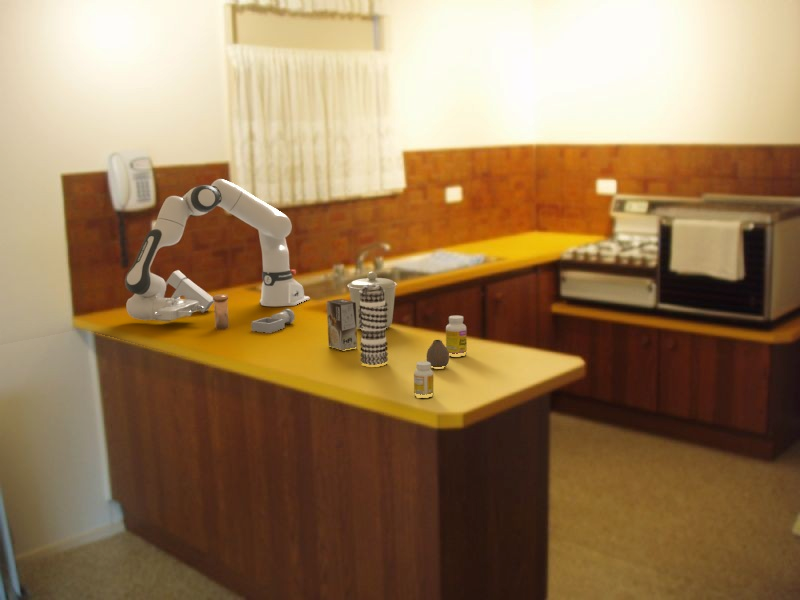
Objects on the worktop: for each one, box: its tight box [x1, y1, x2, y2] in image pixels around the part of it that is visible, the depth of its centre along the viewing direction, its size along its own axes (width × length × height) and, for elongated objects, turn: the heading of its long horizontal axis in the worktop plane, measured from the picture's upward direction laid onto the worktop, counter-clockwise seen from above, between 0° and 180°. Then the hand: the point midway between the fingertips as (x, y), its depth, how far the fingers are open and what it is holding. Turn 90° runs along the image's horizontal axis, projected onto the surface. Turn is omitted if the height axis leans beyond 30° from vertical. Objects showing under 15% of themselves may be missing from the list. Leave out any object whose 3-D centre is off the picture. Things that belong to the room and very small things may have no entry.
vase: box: [426, 339, 450, 367], centre depth 288 cm, size 7×7×9 cm
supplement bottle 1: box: [413, 360, 434, 395], centre depth 258 cm, size 5×5×10 cm
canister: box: [347, 271, 398, 330], centre depth 343 cm, size 18×18×21 cm
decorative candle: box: [358, 285, 389, 365], centre depth 292 cm, size 9×9×25 cm
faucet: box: [165, 269, 214, 313], centre depth 383 cm, size 6×16×20 cm
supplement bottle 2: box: [445, 315, 468, 354], centre depth 302 cm, size 7×7×13 cm
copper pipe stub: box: [212, 294, 230, 330], centre depth 350 cm, size 6×6×12 cm
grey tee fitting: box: [250, 308, 296, 334], centre depth 349 cm, size 17×9×6 cm, turn 149°
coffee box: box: [326, 298, 358, 350], centre depth 315 cm, size 9×6×16 cm
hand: (197, 311), depth 354 cm, fingers open, 8 cm apart
